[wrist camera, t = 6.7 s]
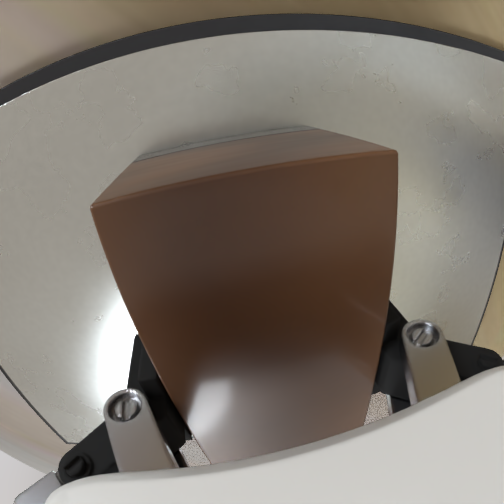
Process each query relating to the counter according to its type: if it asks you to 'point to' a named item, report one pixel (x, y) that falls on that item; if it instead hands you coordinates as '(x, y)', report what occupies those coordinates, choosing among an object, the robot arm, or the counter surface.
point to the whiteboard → (225, 125)
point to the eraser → (258, 280)
